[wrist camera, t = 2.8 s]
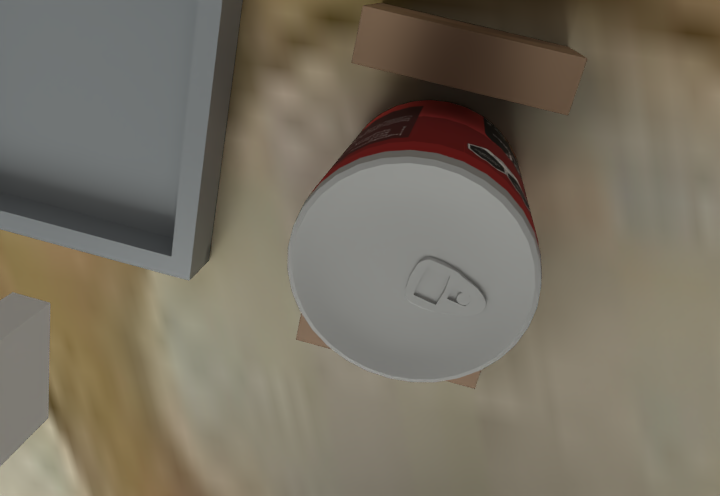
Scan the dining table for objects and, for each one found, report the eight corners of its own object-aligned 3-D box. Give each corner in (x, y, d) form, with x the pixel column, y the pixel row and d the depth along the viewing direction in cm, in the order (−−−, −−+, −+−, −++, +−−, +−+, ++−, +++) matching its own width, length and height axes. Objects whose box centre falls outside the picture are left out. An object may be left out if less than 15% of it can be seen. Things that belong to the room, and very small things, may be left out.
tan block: (568, 46, 27) (587, 58, 22) (474, 332, 32) (474, 388, 28) (381, 2, 27) (362, 5, 23) (321, 290, 33) (295, 339, 28)
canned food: (504, 269, 31) (518, 404, 21) (340, 244, 32) (278, 362, 22) (536, 109, 28) (570, 176, 18) (355, 85, 29) (291, 137, 19)
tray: (246, -29, 28) (226, -31, 26) (208, 260, 33) (189, 280, 31) (-54, -100, 29) (-99, -108, 27) (-42, 193, 34) (-79, 207, 32)
